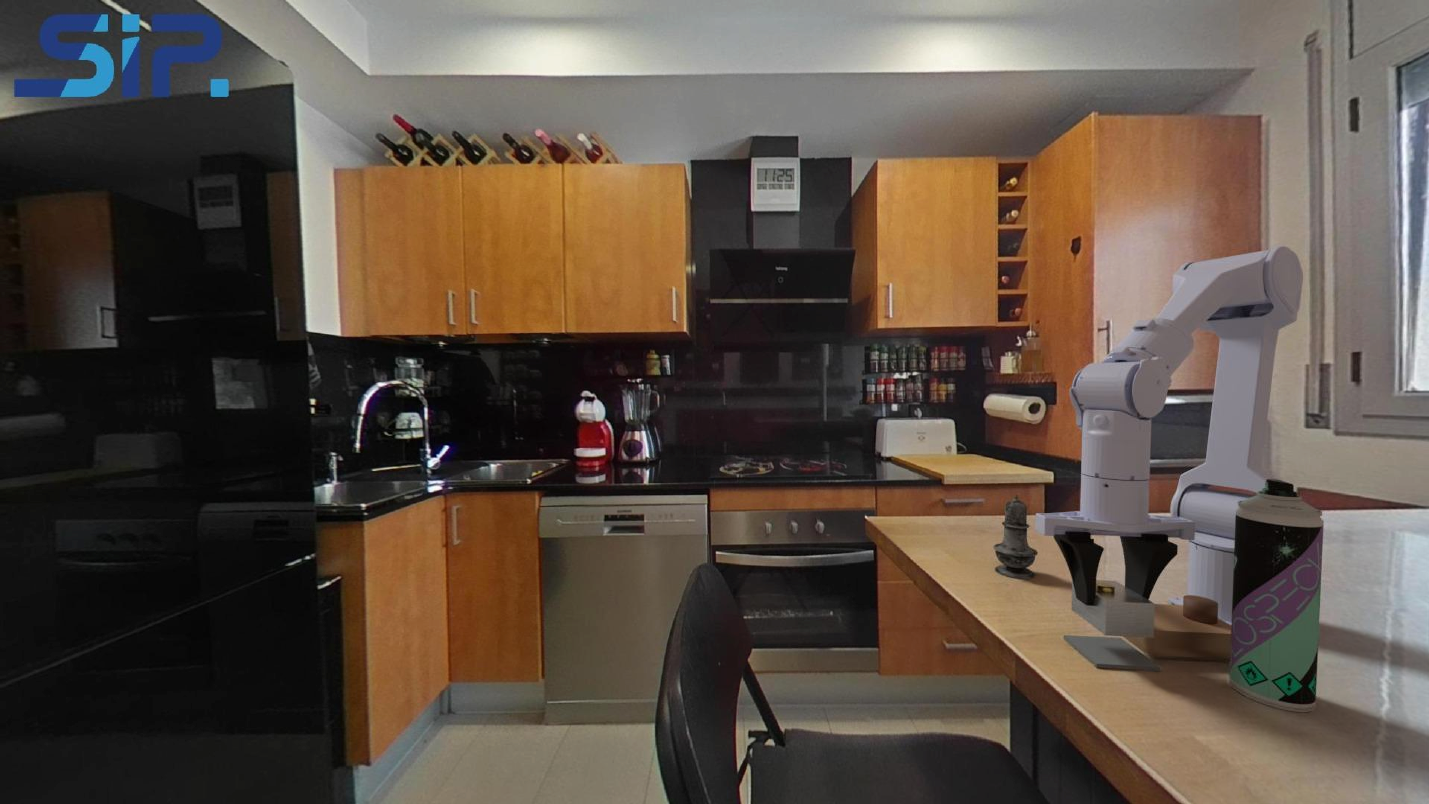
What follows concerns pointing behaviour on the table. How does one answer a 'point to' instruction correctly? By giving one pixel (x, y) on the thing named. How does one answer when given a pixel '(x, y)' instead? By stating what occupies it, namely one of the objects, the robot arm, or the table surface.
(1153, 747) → the table surface
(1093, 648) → the mat
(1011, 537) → the salt shaker
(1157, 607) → the body
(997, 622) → the table surface
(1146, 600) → the grey knob block
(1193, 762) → the table surface
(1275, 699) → the spray can
